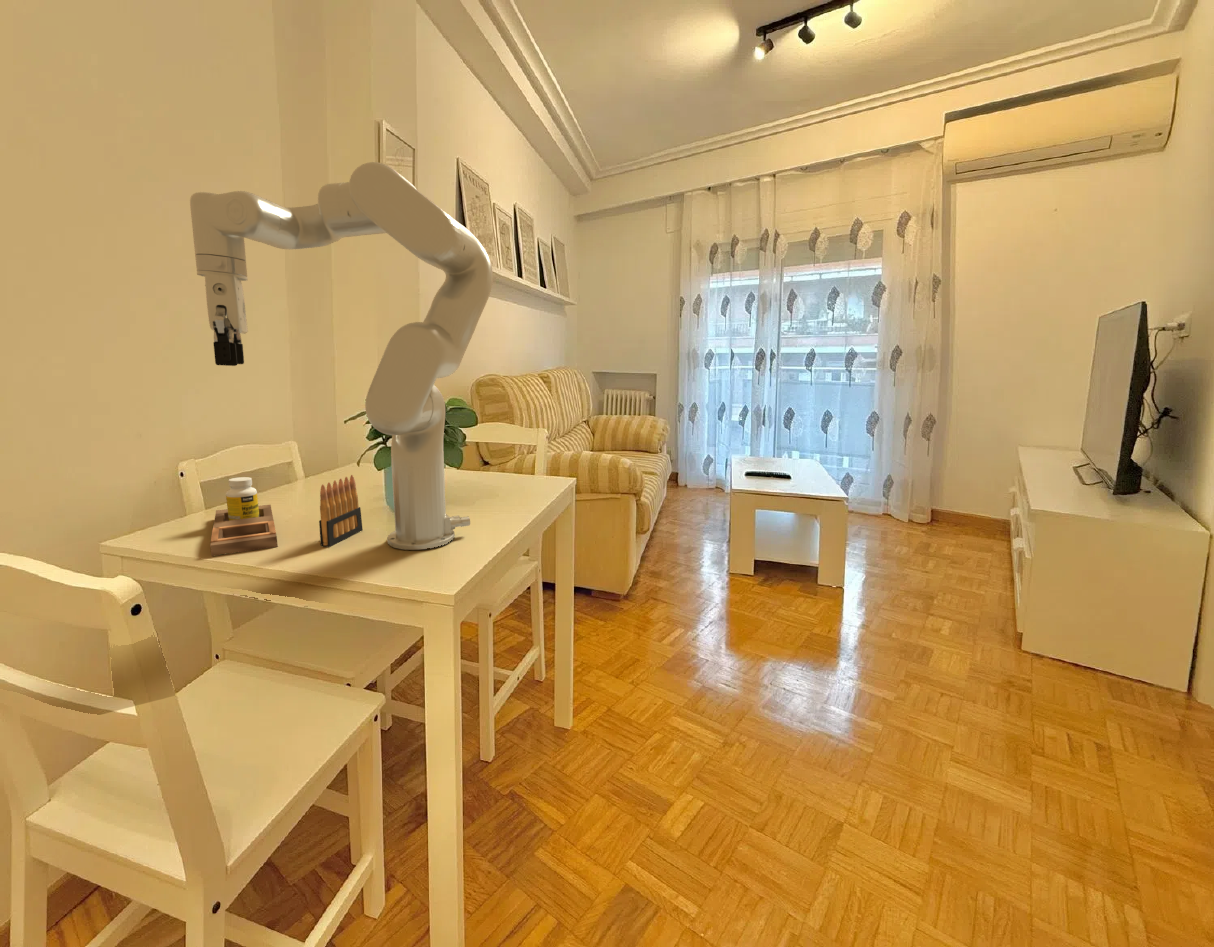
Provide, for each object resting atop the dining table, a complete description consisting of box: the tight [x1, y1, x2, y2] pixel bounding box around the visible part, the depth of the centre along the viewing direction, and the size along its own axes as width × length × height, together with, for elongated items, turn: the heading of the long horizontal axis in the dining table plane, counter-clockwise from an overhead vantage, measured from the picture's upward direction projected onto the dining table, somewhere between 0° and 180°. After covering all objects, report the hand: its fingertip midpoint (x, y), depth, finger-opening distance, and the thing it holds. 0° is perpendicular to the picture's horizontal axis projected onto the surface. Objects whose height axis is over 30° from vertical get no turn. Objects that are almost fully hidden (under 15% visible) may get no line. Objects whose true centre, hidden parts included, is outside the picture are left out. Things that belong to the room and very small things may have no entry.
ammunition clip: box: [318, 474, 363, 548], centre depth 103 cm, size 11×2×12 cm, turn 172°
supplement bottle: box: [225, 476, 259, 520], centre depth 111 cm, size 5×5×10 cm
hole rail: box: [209, 504, 279, 557], centre depth 106 cm, size 10×26×2 cm, turn 34°
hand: (230, 364), depth 99 cm, fingers open, 9 cm apart
